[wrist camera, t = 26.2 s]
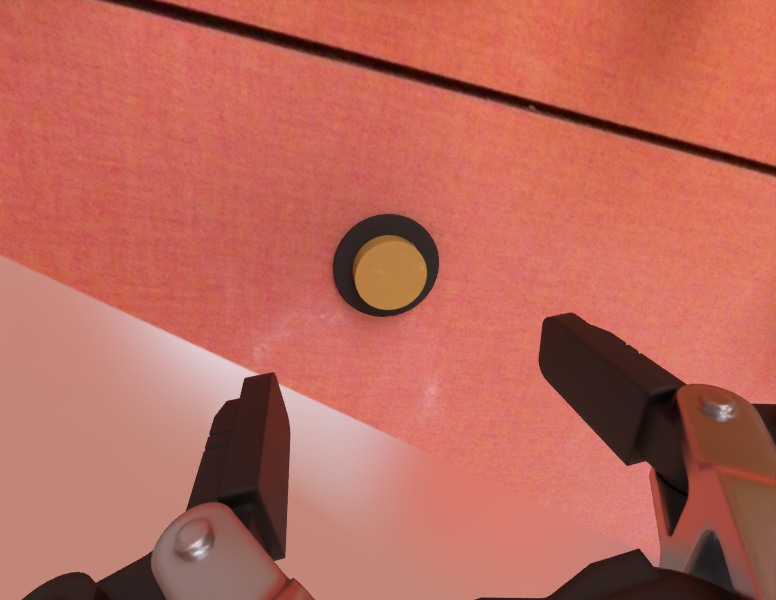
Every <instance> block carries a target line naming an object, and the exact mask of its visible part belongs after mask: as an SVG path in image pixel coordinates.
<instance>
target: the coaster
mask: <svg viewBox="0 0 776 600" xmlns="http://www.w3.org/2000/svg"><path fill="white" fill-rule="evenodd" d="M384 235H394V236H399V237H402V238H404V239H406V240H407V241H409V242H410V243H413V244H414V245H415V247H416V249H417V250H418V251H419V253H420V254H421V255H422V257H423V259H424V261H425V264H426V268H427V278H426V282H425V285H424V288H423V289H422V291H421V293H420V294H419V295H418V297H417V298H416V299H415V300H413V301H412V302H411V303H409V304H408V305H406V306H404V307H401V308H398V309H393V310H383V309H378V308H375V307H373V306H371V305H369V304H368V303H366V302H365V301H364V300H363V299H362V298H361V296H360V295H359V293H358V291H357V288H356V285H355V282H354V278H353V272H352V270H353V262H354V259H355V257H356V255H357V253H358V251H359V250H360V249H361V247H362V246H363V245H365V244H366V243H367V242H368V241H370V240H372V239H374V238H376V237H379V236H384ZM333 268H334V278H335V282H336V285H337V288H338V290H339V292H340V294H341V295H342V297H343V298H344V299H345V300H346V302H347V303H348V304H350V305H351V306H352V307H353V308H355V309H356V310H358V311H360V312H362V313H365V314H368V315H372V316H380V317H385V316H394V315H398V314H401V313H404V312H406V311H408V310H410V309H412V308H413V307H415V306H416V305H418V304H419V303H420V302H421V301H422V300H423V299H424V298H425V297H426V296H427V295H428V293H429V292H430V290H431V289H432V287H433V285H434V283H435V281H436V278H437V274H438V269H439V256H438V251H437V248H436V245H435V243H434V241H433V239H432V237H431V236H430V234H429V233H428V232H427V231H426V230H425V229H424V228H423V227H422V226H421V225H420V224H418V223H417V222H415V221H413V220H411V219H409V218H407V217H404V216H400V215H394V214H385V215H378V216H374V217H370V218H368V219H366V220H364V221H362V222H360V223H358V224H357V225H356V226H354V227H353V228H352V229H351V230H350V231H349V232H348V233H347V234H346V235H345V236H344V238H343V239H342V241H341V242H340V244H339V246H338V248H337V251H336V254H335V258H334V265H333Z"/></svg>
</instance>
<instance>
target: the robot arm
mask: <svg viewBox="0 0 776 600" xmlns="http://www.w3.org/2000/svg"><path fill="white" fill-rule="evenodd" d="M539 367H540V370H541V372H542V374H543V376H544V378H545V379H546V380H547V381H548V382H549V383H550V384H551V386H552V387H553V388H554V389H555V390H556V391H557V392H558V393H559V394H560V395H561V396H562V397H563V398H564V399H565V400H566V402H567V403H568V404H569V405H570V406H571V407H572V408H573V409H574V410H575V411H576V412H577V413H578V414H579V415H580V416H581V418H582V419H583V420H584V421H585V422H586V423H587V424H588V425H589V426H590V427H591V428H592V429H593V430H594V431H595V432H596V434H597V435H598V436H599V437H600V438H601V439H602V440H603V441H604V442H605V443H606V444H607V445H608V446H609V447H610V448H611V450H612V451H613V452H614V453H615V454H616V455H617V456H618V457H619V458H620V459H621V460H622V461H623V462H624V463H625V464H626V465H627V466H629V465H633V464H637V463H640V462H644V461H647V462H648V463H649V464H650V465H651V466H652V468H651V471H650V474H649V477H650V484H651V490H652V496H653V503H654V509H655V515H656V521H657V527H658V534H659V540H660V549H661V555H660V565H659V567H653V566H652V564H651V563H650V562H649V560H648V559H647V558H646V557H645V555H644V554H643V553H642V552H641V550H640V549H636V550H633V551H630V552H627V553H624V554H620V555H617V556H614V557H611V558H607V559H604V560H601V561H598V562H594V563H591V564H589V565H588V566H587V567H586V568H584V569H583V570H582V571H581V572H579V573H578V574H577V575H576V576H574V577H573V578H572V579H570V580H569V581H568V582H567V583H565V584H564V585H563V586H562V587H560V588H559V589H558V590H557V591H555V592H554V593H553V594H552V595H550V596H548V597H546V598H479V599H476V600H776V404H751V403H749V402H748V401H747V400H745V399H744V398H742V397H740V396H739V395H737V394H735V393H733V392H730V391H728V390H725V389H723V388H719V387H716V386H712V385H706V384H689V385H687V384H685V383H684V382H682V381H681V380H679V379H678V378H677V377H675V376H674V375H672V374H671V373H669V372H668V371H666V370H665V369H663V368H662V367H661V366H659V365H658V364H656V363H655V362H653V361H652V360H650V359H649V358H647V357H646V356H644V355H643V354H642V353H641V354H639V353H638V351H637V350H636V349H634V348H633V347H631V346H630V345H626V342H624V341H623V340H621V339H620V338H618V337H617V336H615V335H614V334H612V333H611V332H609V331H606V330H603V329H601V328H598V327H596V326H593V325H590V324H589V323H587V322H586V321H584V320H583V319H582V318H580V317H579V316H577V315H576V314H574V313H566V314H561V315H556V316H551V317H547V318H545V319H544V321H543V325H542V333H541V342H540V351H539ZM289 454H290V425H289V419H288V414H287V411H286V407H285V404H284V401H283V397H282V394H281V391H280V388H279V384H278V381H277V378H276V375H275V373H274V372H272V373H267V374H262V375H257V376H252V377H247V378H245V379H244V382H243V387H242V391H241V395H240V398H239V399H234V400H229V401H226V403H225V404H224V405H223V407H222V408H221V409H220V410H219V412H218V413H217V414H216V415H215V417H214V420H213V423H212V426H211V430H210V437H208V440H207V443H206V446H205V452H204V453H203V457H202V460H201V463H200V466H199V470H198V473H197V476H196V479H195V483H194V486H193V489H192V493H191V496H190V499H189V503H188V506H187V509H186V512H184V513H183V514H181V515H180V516H179V517H178V518H176V519H175V520H174V521H173V522H172V523H171V524H170V525H169V526H168V527H167V528H166V529H165V531H164V532H163V534H162V535H161V536H160V538H159V539H158V541H157V543H156V545H155V547H154V550H153V551H152V552H150V553H149V554H147V555H146V556H144V557H142V558H141V559H139V560H137V561H135V562H133V563H132V564H130V565H128V566H126V567H125V568H122V569H121V570H119V571H117V572H115V573H113V574H112V575H110V576H108V577H106V578H104V579H102V580H100V581H99V582H97V583H95V582H94V581H93V579H92V578H91V577H90V576H89V575H87V574H85V573H80V572H73V573H68V574H64V575H61V576H58V577H56V578H54V579H52V580H50V581H48V582H46V583H44V584H43V585H41V586H39V587H38V588H36V589H35V590H34V591H32V592H31V593H29V594H28V595H27V596H26V597H25V598H23V599H22V600H315V599H314V598H313V597H312V596H311V595H310V594H309V592H308V591H307V590H306V589H305V588H304V587H303V586H302V585H301V584H300V583H299V582H298V581H297V580H296V579H294V578H292V579H291V580H290V579H289V578H288V577H287V576H286V575H285V574H284V573H283V572H282V571H281V569H280V568H279V567H278V566H277V564H276V563H275V562H274V561H276V560H279V559H283V558H285V552H286V528H287V527H286V526H287V503H288V478H289V456H290V455H289Z"/></svg>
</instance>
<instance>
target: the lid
mask: <svg viewBox="0 0 776 600" xmlns="http://www.w3.org/2000/svg"><path fill="white" fill-rule="evenodd" d="M352 272H353V278H354V282H355V285H356V288H357V291H358V293H359V295H360V296H361V298H362V299H363V300H364V301H365V302H366V303H368V304H369V305H371V306H373V307H375V308H378V309H383V310H393V309H398V308H401V307H404V306H406V305H408V304H409V303H411V302H412V301H413V300H415V299H416V298H417V297H418V295H419V294H420V293H421V291H422V289H423V288H424V285H425V282H426V278H427V268H426V264H425V261H424V259H423V257H422V255H421V254H420V253H419V251H418V250H417V249H416V247H415V245H414V244H413V243H410V242H409V241H407V240H406V239H404V238H402V237H399V236H394V235H384V236H379V237H376V238H374V239H372V240H370V241H368V242H367V243H366V244H365V245H363V246H362V247H361V249H360V250H359V251H358V253H357V255H356V257H355V259H354V262H353V270H352Z"/></svg>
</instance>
